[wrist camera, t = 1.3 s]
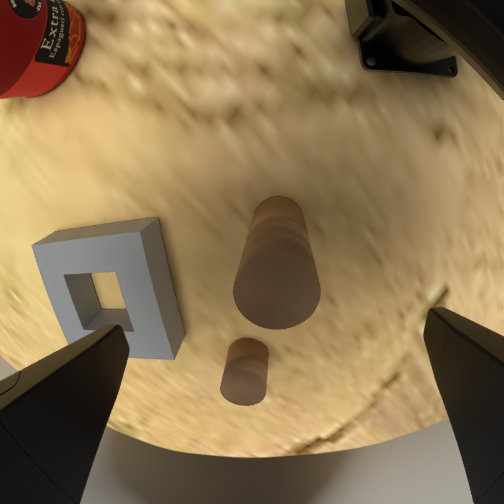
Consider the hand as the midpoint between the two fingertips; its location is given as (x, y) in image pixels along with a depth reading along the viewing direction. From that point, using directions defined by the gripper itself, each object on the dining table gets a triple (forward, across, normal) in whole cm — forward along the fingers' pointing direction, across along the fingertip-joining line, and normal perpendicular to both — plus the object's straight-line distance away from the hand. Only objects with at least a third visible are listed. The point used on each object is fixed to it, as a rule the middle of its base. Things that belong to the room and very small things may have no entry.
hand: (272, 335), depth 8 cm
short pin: (+12, +3, +10) cm, 16 cm away
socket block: (+12, +12, +4) cm, 17 cm away
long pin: (+12, 0, 0) cm, 12 cm away
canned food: (+12, +15, -15) cm, 24 cm away
